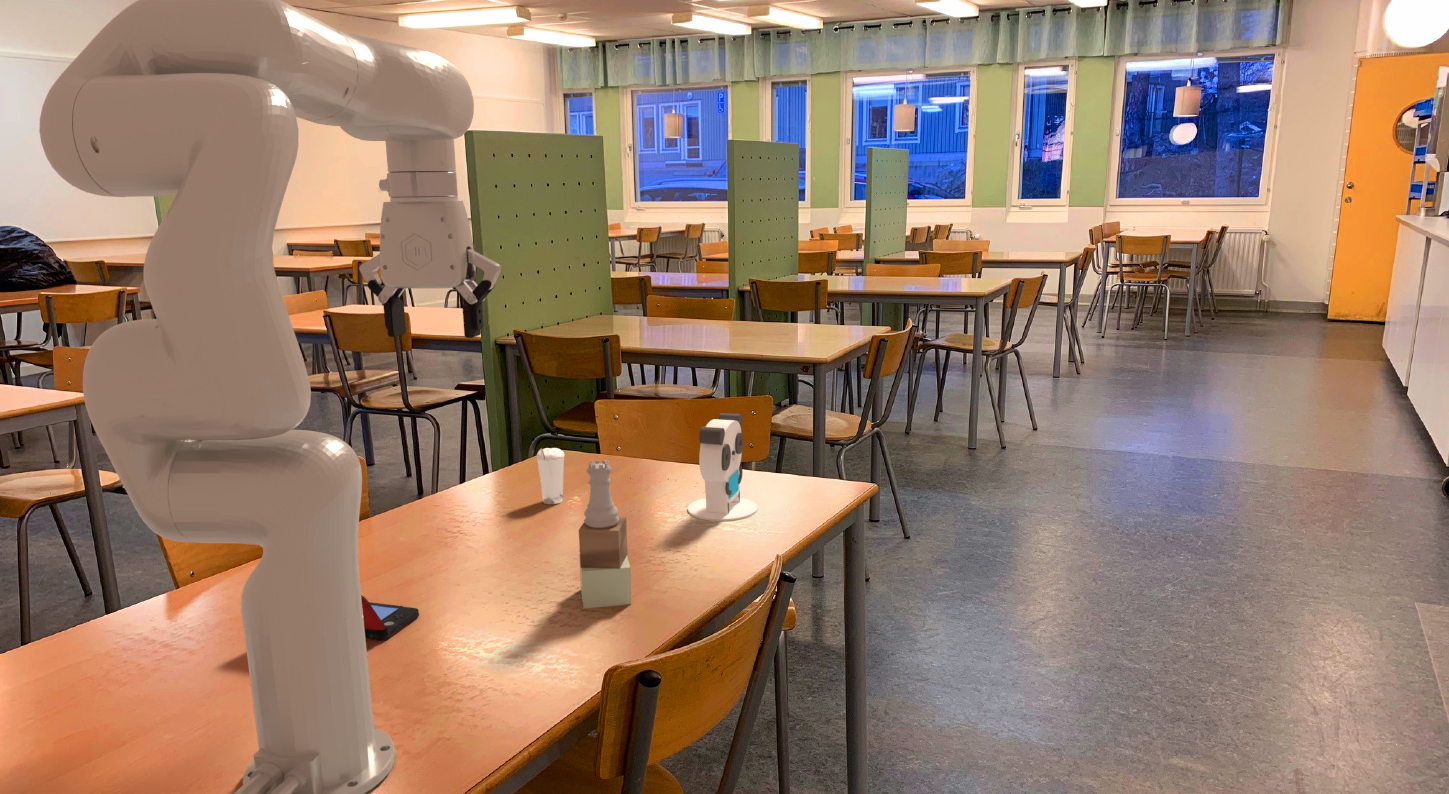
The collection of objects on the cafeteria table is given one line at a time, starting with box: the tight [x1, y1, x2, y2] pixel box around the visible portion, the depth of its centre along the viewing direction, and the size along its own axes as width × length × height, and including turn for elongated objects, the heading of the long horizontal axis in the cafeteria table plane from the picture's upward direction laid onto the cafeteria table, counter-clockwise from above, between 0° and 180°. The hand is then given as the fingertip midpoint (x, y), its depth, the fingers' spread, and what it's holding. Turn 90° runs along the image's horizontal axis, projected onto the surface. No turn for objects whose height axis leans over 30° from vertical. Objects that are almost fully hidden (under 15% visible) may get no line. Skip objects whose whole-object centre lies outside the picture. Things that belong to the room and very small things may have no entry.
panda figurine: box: [687, 412, 758, 522], centre depth 156 cm, size 12×11×15 cm
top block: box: [578, 516, 628, 569], centre depth 123 cm, size 5×5×5 cm
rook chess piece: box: [583, 459, 619, 529], centre depth 122 cm, size 4×4×8 cm
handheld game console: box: [361, 594, 420, 642], centre depth 116 cm, size 12×11×7 cm
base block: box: [579, 553, 633, 609], centre depth 124 cm, size 6×6×5 cm
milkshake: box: [536, 447, 565, 505], centre depth 162 cm, size 4×5×10 cm
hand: (434, 335), depth 116 cm, fingers open, 9 cm apart
